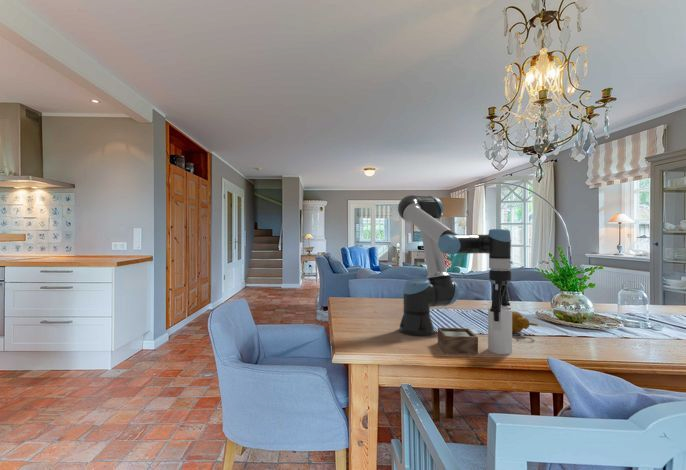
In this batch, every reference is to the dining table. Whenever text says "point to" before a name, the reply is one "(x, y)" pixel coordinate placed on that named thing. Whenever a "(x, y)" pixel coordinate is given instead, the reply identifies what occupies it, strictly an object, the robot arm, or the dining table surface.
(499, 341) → the cup
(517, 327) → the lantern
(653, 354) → the dining table surface
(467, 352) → the brown wooden square box
